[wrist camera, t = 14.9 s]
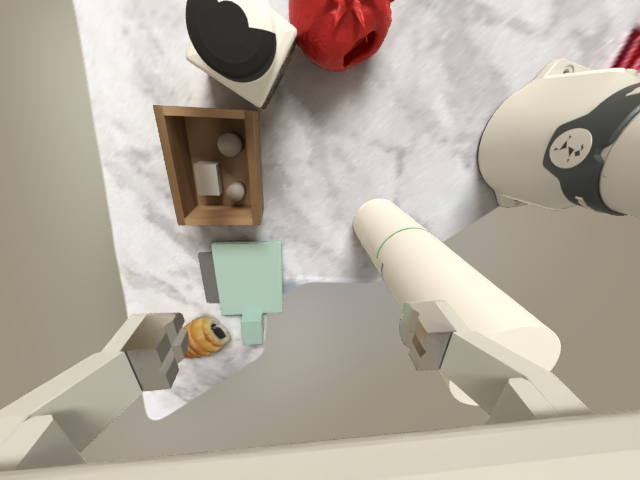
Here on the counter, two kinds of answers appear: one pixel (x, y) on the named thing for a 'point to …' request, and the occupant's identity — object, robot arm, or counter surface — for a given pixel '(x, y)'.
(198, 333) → the pastry
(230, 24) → the medicine bottle
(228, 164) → the wooden box
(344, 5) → the pomegranate
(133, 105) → the counter surface
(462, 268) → the cylindrical container
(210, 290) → the mat
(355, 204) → the counter surface
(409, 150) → the counter surface
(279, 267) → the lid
